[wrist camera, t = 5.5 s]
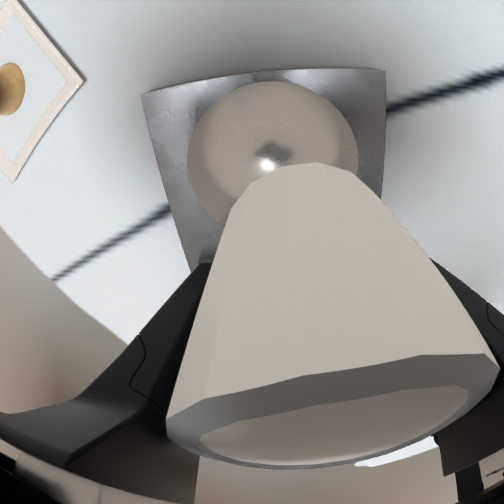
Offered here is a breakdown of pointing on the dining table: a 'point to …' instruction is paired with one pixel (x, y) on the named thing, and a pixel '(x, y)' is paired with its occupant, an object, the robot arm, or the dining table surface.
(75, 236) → the dining table surface
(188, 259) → the base
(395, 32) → the dining table surface
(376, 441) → the white cup
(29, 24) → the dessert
